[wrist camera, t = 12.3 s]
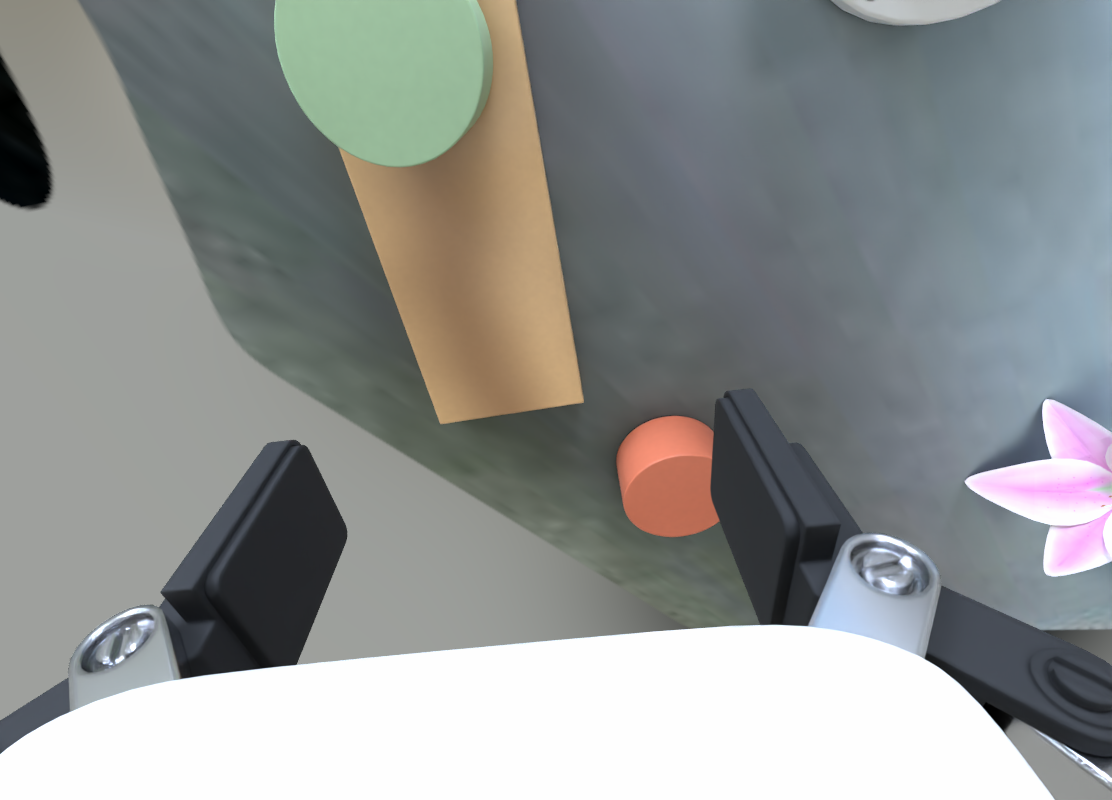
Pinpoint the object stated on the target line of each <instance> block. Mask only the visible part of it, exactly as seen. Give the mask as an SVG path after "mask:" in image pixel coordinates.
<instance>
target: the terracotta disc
mask: <svg viewBox="0 0 1112 800" xmlns="http://www.w3.org/2000/svg"><path fill="white" fill-rule="evenodd" d="M713 436H714V432H713V431H712V430H711V429H710V428H709V427H708V426H707V425H705V424H704V423H702V422H700V421H698V420H695V419H693V418H689V417H683V416H666V417H661V418H656V419H653V420H650V421H648V422H646V423H644V424H642V425H640V426H638V427H637V428H636V429H634V430H633V431H632V432H631V433H630V434H628V436H627V437H626V438H625V439H624V441H623V442H622V444H621V445H620V448H619V450H618V453H617V459H616V464H617V471H618V477H619V482H620V488H621V494H622V500H623V505H624V510H625V512H626V514H627V516H628V518H629V519H630V520H631V521H632V522H633V524H635V525H636V526H637V527H638V528H640V529H642V530H643V531H646V532H648V533H651V534H654V535H658V536H665V537H679V536H687V535H691V534H695V533H698V532H701V531H703V530H706V529H708V528H710V527H711V526H713V525H715V524H716V523H718V522H719V521H720V520H719V518H718V515H717V513H716V510H715V508H714V505H713V502H712V498H711V492H710V484H711V468H712V452H713Z"/></svg>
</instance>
